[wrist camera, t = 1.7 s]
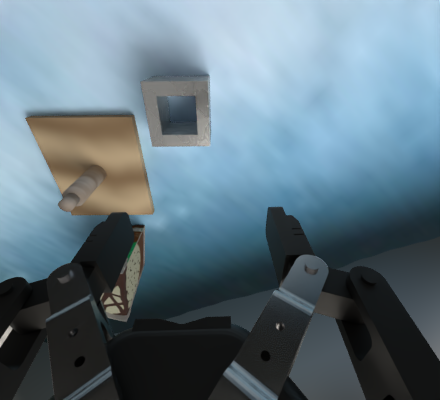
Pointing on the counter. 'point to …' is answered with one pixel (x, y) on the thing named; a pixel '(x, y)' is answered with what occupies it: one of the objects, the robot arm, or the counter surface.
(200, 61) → the counter surface
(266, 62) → the counter surface
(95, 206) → the block
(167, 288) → the counter surface
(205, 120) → the grey square sleeve
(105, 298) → the food container
